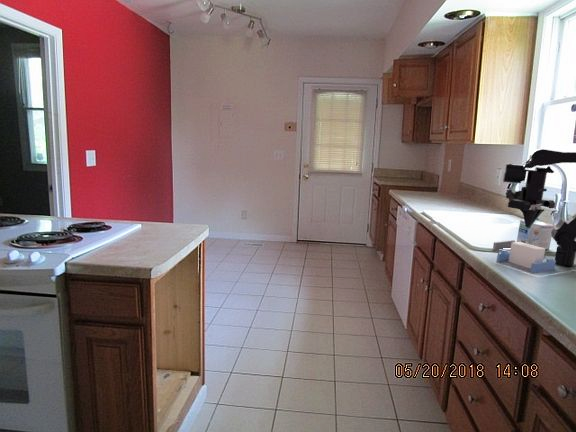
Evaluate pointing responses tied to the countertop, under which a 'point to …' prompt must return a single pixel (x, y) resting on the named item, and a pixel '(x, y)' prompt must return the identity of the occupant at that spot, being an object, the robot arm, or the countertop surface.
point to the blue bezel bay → (535, 267)
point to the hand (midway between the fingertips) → (527, 227)
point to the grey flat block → (504, 245)
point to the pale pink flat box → (525, 254)
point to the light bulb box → (535, 234)
